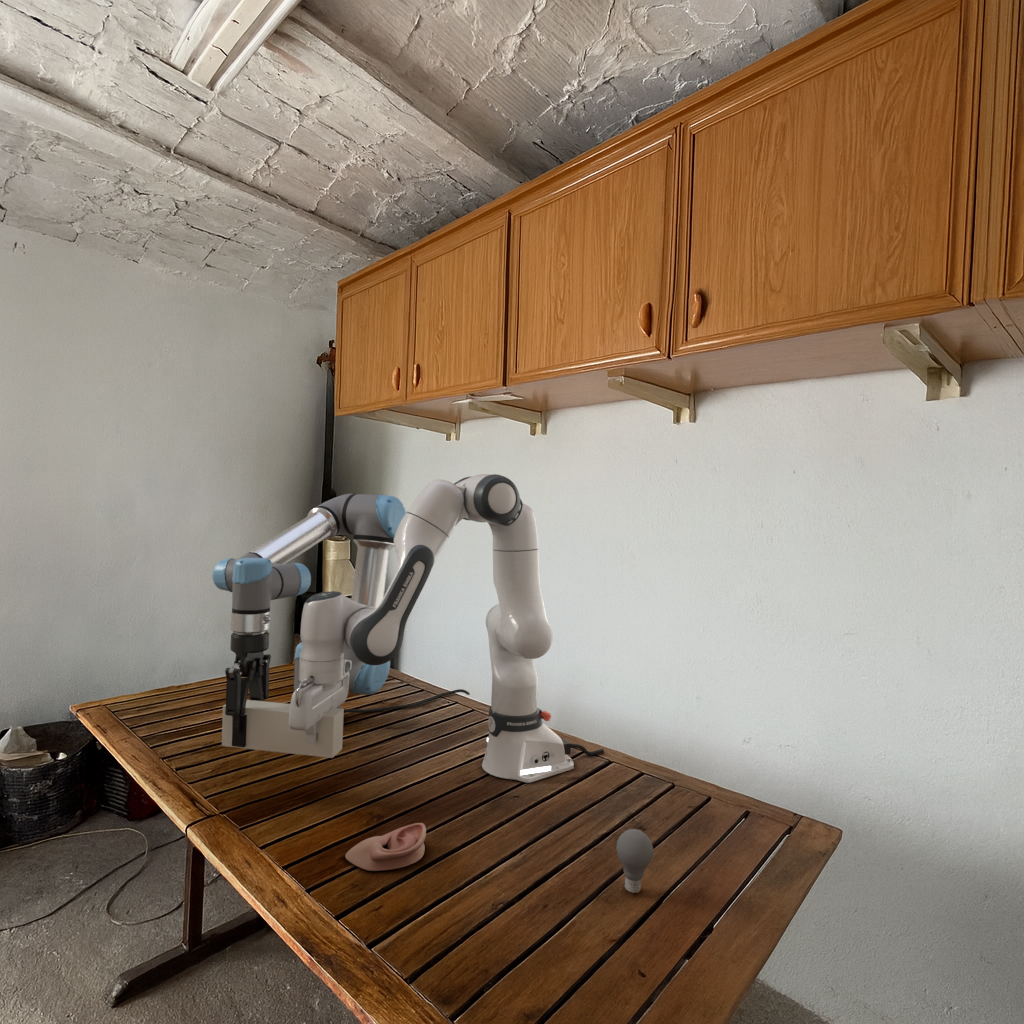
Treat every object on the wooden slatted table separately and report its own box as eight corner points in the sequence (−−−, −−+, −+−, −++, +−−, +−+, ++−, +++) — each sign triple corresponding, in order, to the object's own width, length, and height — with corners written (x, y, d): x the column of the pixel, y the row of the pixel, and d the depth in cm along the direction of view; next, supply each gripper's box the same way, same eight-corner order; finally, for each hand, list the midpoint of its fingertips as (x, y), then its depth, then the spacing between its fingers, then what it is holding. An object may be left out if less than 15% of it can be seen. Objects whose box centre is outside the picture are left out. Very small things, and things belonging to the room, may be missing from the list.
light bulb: (610, 879, 108) (613, 822, 108) (644, 879, 109) (647, 822, 109) (619, 902, 102) (622, 840, 102) (655, 901, 103) (658, 840, 103)
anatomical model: (337, 842, 109) (366, 811, 120) (336, 865, 109) (365, 832, 120) (410, 854, 106) (432, 821, 117) (409, 878, 106) (432, 842, 118)
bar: (221, 746, 132) (222, 705, 132) (235, 737, 137) (236, 698, 137) (332, 758, 129) (334, 716, 128) (342, 749, 133) (343, 708, 133)
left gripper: (242, 642, 124) (238, 759, 125) (288, 624, 142) (284, 727, 142) (207, 639, 125) (203, 755, 126) (257, 622, 143) (253, 724, 144)
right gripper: (312, 686, 121) (310, 758, 121) (355, 659, 141) (352, 721, 141) (281, 683, 122) (279, 754, 122) (328, 657, 142) (326, 718, 142)
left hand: (246, 740), depth 134 cm, fingers closed on bar, 5 cm apart
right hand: (319, 736), depth 132 cm, fingers closed on bar, 5 cm apart
